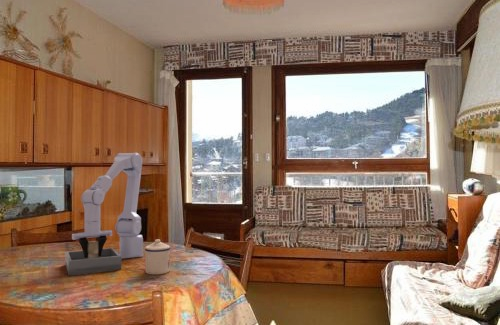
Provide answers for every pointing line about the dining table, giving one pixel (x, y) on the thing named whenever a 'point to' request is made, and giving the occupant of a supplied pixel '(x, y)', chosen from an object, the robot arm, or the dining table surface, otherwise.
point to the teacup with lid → (157, 258)
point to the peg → (93, 249)
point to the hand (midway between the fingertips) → (92, 256)
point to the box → (92, 262)
